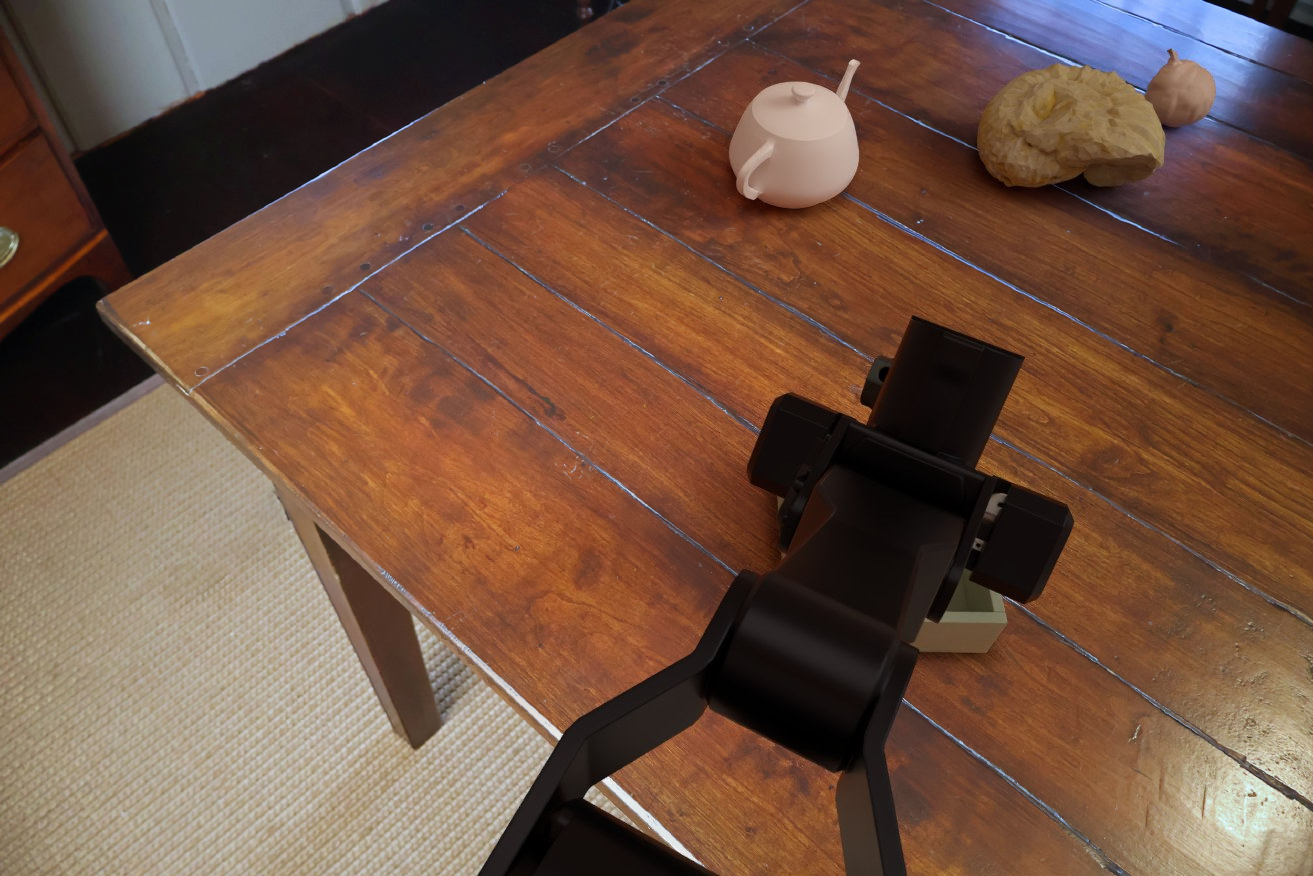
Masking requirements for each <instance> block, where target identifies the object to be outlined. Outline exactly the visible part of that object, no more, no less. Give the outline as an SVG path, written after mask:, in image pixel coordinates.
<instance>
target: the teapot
mask: <svg viewBox="0 0 1313 876" xmlns="http://www.w3.org/2000/svg"><path fill="white" fill-rule="evenodd" d="M860 65H861V62H860V60H856V59H854V58H853V59H851V60H850V61H849V62H848V65H847V68H846V70H845V72H844V74H843V77H842V79H841V80H840V83H839V85H838V87H837V90H836V92H834V91H832V90H831V89H829V88H827V87H826V86H823V85H819V84H815V83H811V82H807V81H784V82H779V83H776V84H771V85H770V86H768V87H766V88H764V89H762V90H761V91H759V93H757V94H756V96H755V97H754V98H753V99H752V100H751V101H750V103H748V105H747V107H746V108H745V110H744V112H743V113H742V116H741V117H740V120H739V122H738V123H737V126H736V128H735V130H734V133H733V135H732V137H731V141H730V143H729V147H728V157H729V163H730V167H731V169H732V171H733V173H734V176H735V178H736V181H735V182H736V183H735V184H736V185H735V186H736V190H737V192H738V193H739V194H740V195H742V196H743V197H745V198H747V199H749V200H752V201H754V200H756V199H759V200H760V201H761V202H762V203H766V204H768V205H771V206H774V207H779V208H785V209H804V208H809V207H813V206H815V205H818V204H822V203H824V202H826V201H829V200H831V199H833V198H834V197H837V196H838V195H839V194H841V193H843V191H844V190H845V189H846V188H847V187H848V186H849V185H850V183H851V182H852V180H853V179H854V177H855V176H856V173H857V171H858V168H859V163H860V150H859V148H860V147H859V141H858V136H857V132H856V127H855V123H854V120H853V117H852V114H851V112H850V110H849V108H848V106H847V104H846V98H847V96H848V93H849V90H850V86H851V83H852V80H853V77H854V75H855V73H856V71H857V69H858V67H859V66H860Z"/></svg>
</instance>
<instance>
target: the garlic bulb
mask: <svg viewBox="0 0 1313 876" xmlns="http://www.w3.org/2000/svg"><path fill="white" fill-rule="evenodd" d="M1166 52H1167V53H1168V56H1169V58H1168V59H1167V62H1166V63H1165V64H1164V65H1163V66H1162V67H1160V69H1159V70H1158V71H1157V73H1156V74H1155V75H1154V76H1153V77H1152V78H1151V80H1150V81H1149V82H1148V83H1147V87H1146V91H1145V93H1144V94H1143V95H1144V97H1145V99H1146V101H1148V102H1150V103H1151V104H1152V105H1153V108H1154V111H1155V112H1156V114H1157V116H1158V118H1159V120H1160V122H1161V125H1165V126H1167V127H1170V128H1181V127H1184V126H1190V125H1194V124H1195V123H1197V122H1199V121H1202V120H1203V119H1205V118H1206V117H1207V116H1208V114H1209V113H1210V111H1211V110H1212V107H1213V106H1214V103H1215V100H1216V96H1217V86H1216V81H1215V79H1214V78H1215V77H1214V76H1213V75H1212V73H1211V72H1210V71H1209V70H1208V69H1207V68H1205V67H1203V66H1202V65H1200V64H1199V63H1197V62H1196V61H1194V60H1192V59H1188V58H1187V59H1186V58H1185V59H1180V58H1179V57H1178V56H1179V53H1178V52H1177V51H1176V50H1174V49H1173V48H1172V47H1170V48H1169V49H1167V50H1166Z"/></svg>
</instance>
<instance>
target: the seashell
mask: <svg viewBox="0 0 1313 876" xmlns="http://www.w3.org/2000/svg"><path fill="white" fill-rule="evenodd" d="M1144 95H1145V94H1143V93H1142V92H1139V91H1137V90H1136V88H1135V86H1133V85H1132V84H1129V83H1127V81H1126V80H1125V79H1124V78H1123V77H1122V76H1119V74H1118V73H1117V72H1116V70H1111V71H1105V72H1103V71H1101V70H1100V68H1095V69H1094V68H1092V67H1091V66H1090V65H1089V64H1085V65H1082V66H1081V67H1080V66H1078V65H1076V64H1075V65H1071V66H1067V65H1066V64H1061V63H1059V62H1057V63H1054V64H1051V65H1049V66H1047V67H1045V68H1041V69H1033V70H1029V71H1028V72H1027V71H1026V72H1024V73H1022V74H1020V75H1018V76H1017V77H1015V78H1013V79H1011V80H1010V81H1009V82H1007V83H1006V84H1005V85H1004V86H1003V88H1001V89H1000V90H998V91H997V92H996V94H995V96H993V97H992V98H991V99H990V100H989V101H988V103H987V105H986V107H985V109H984V110H983V113H982V116H981V117H980V119H979V122H978V127H977V138H976V144H977V149H976V150H977V151H978V156H979V159H980V160H981V162H982V163H983V164H984V166H985V169H986V171H987V172H988V173H989V174H990V175H991V176H992V177H993V178H994V179H997V180H998V181H999V182H1002V183H1003V184H1004V185H1005V187H1008V188H1011V187H1015V186H1018V187H1025V188H1026V187H1027V188H1039V187H1044V186H1046V185H1053V184H1058V183H1062V182H1065V181H1070V180H1072V179H1075V178H1077V177H1078V176H1079V175H1082V173H1083V178H1084V179H1085V180H1086V181H1087V183H1089V184H1090V185H1092V186H1094V187H1095V186H1096V187H1100V188H1101V187H1116V186H1118V187H1119V186H1123V185H1124V184H1127V183H1129V184H1131V183H1132V184H1133V183H1136V182H1140V181H1143V180H1145V179H1148V178H1150V176H1152V175H1154V173H1155V171H1156V169H1159V168H1162V167H1163V165H1164V163H1165V146H1166V132H1165V131H1164V129H1163V126H1162V124H1161V122H1160V120H1159V118H1158V116H1157V114H1156V112H1155V111H1154V108H1153V105H1152V104H1151V103H1150V102H1148V101H1146V99H1145V97H1144Z"/></svg>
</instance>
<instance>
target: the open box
mask: <svg viewBox="0 0 1313 876" xmlns="http://www.w3.org/2000/svg"><path fill="white" fill-rule="evenodd" d="M776 499H777V512H778V511H779V509H780V507H781V505H782V503H783V501H784V499H783V498H781V497H779V496H777V495H776ZM780 554H781V555H780V556H781V560H782V559H783V558H784V557H785V556H786V554H784V553H782V552H780ZM970 573H971V571H969V570H967V569H964V571H963V574H962V576H961V578H960V581H959V583H958V586H957V588H956V590H955V592H954V595H953V597H952V599H951V601H950V603H949V605H948V607H947V609H946V611H945V613H944V615H943V617H942V619H941V620H940V622H939V623H938V624H937V623H935V622H933V621H930V620H928V619H927V618H925V620H924V622H923V625H922V627H921V629H920V631H919V633H918V636H917V638H916V640H915V642H913V643H910V645H912V646H914V647H916V648H918V649H919V653H965V654H966V653H967V654H969V653H970V654H987V653H988V651H989V650H990V648H991V647H992V646H993V644H994V642H995V641H996V640H997V639H998V637H999V635H1001V633H1002V632H1003V631H1004V629H1005V628H1006V627H1007V626H1008V617H1007V614H1006V609H1005V604H1004V600H1003V595H1001V594H999V593H996V592H994V591H992V590H990V589H987V588H985V587H983V586H980V585H978V584H976V583H974V582H971V581H969V575H970Z"/></svg>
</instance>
